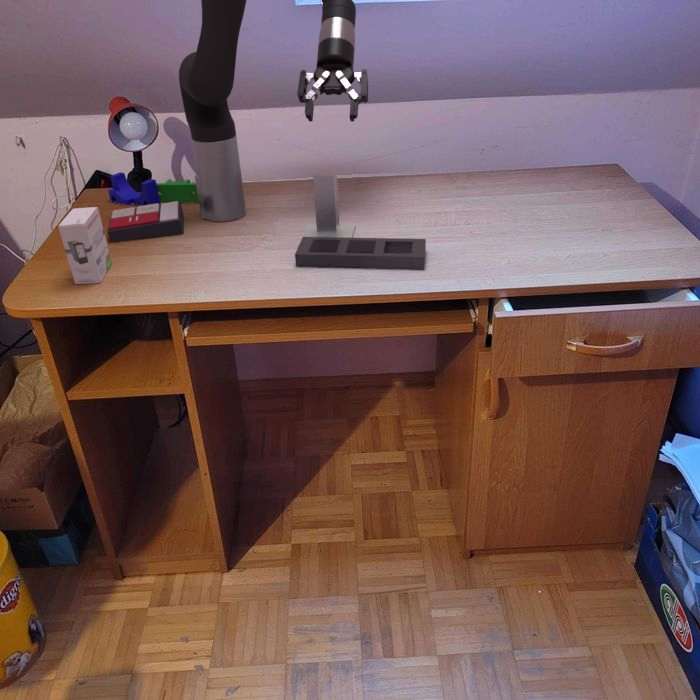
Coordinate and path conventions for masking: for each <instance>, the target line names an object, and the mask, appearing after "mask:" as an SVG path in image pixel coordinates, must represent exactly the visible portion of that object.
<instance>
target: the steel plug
mask: <svg viewBox="0 0 700 700" xmlns="http://www.w3.org/2000/svg"><path fill="white" fill-rule="evenodd" d="M312 179H313V180H312V181H313V193H314V196H313V197H314V205H315V206H314V210H315V222H316V224H315V225H317V237H338V234H339V231H340V227H339V225H340V210H339V193H338V192H339V190H338V189H339V188H338V187H339V186H338V170H337V168H316V169H315V171H314V173H313V174H312Z"/></svg>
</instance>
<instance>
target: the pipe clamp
mask: <svg viewBox="0 0 700 700" xmlns="http://www.w3.org/2000/svg"><path fill="white" fill-rule="evenodd" d="M172 180H173V179H170V178H169V179H167V181H165V182H164V183H158V182H156V185H157V189H158V194H159V199H160V202H175V201H178V202H199V199H198V194H197V188H196V182H191V179H185V180H183V181H172ZM193 193H194V194H193Z"/></svg>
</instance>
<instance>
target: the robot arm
mask: <svg viewBox="0 0 700 700" xmlns="http://www.w3.org/2000/svg"><path fill="white" fill-rule="evenodd" d="M200 2H201V4H200V5H201V27H200V32H199V33H200V34H199V38H198V43H197V47H196V50H195V51H194V52H191V53H189V54H188V55H186V56H185V58H183V60H182V61H181V63H180V65H179V69H178V70H179V71H178V83H179V89H180V94H181V98H182V99H181V100H182V104H183V105H182V106H183V109H184V110H183V111H184V115H185V119H186V122H187V126H188V128H189V131H190V136H191V142H192V147H193V154H194V161H195V166H196V171H197V172H196V173H197V174H195V176H194V181H195V182H194V183H196V188H197V194H198V199H199V203H198V204H199V210H200V211H199V212H200V217H201V219H205V220H209V221H211V222H229V221H234V220H238V219H240V218H243V217H244V216H245V215H246V213H247V209H246V208H247V207H246V200H245V191H244V184H243V177H242V169H241V162H240V161H241V160H240V154H239V146H238V137H237V131H236V123H235V120H234V119H233V116H232V114H231V112H230V108H229V104H228V99H229V96H230V95H231V93H232V91H233V88H234V83H235V82H234V81H235V74H236V73H235V71H236V62H237V61H236V60H237V53H238V52H237V51H238V45H239V44H238V43H239V38H240V37H239V36H240V30H241V27H242V23H243V19H244V14H245V11H246V4H247V0H201V1H200ZM322 2H323V7H322V6H321V9H322V11H321V22H320V23H321V24H320V30H319V34H318V44H317V45H318V46H317V55H316V56H317V57H316V69H315V71H314V72H307V71H306V70H305V69H302V70H300V73H299V78H298V84H297V85H298V86H297V92H296V95H297V98H298V101H299V103H300V104H305V106H304V115H305V118H306V119H307V120H308V122H313V121H314V109H315V106H314V104H315V103H316V102H317V101H318V100H320V99H321V98H322V97H323V96H324V95H326V96H330V95H336V96H337V95H338V96H341V95H342V94H344V95H345V96H346V97H347V99H349V100H350V103H349V104H350V106H349V121H350V122H355V119H356V120H357V118H358V116H359V105H360V104H361V103H366V104H367V102H369V76H368V70H367V69H365V68H364V69H361V71H360V72H359V71H358V72H355V71H354V64H355V63H354V62H355V61H354V60H355V50H356V16H357V10H356V9H357V8H356V4H355V2H354V1H353V0H322ZM355 80H357V83H358V84H359V85H360V92H359V93H357V92H356V91H355V89H354V88H353V86H352V85H353V83H354V82H355ZM312 81H314V82H315V83H314V84H313V85H312V86H311V88H310V90H309V91H308V92H307V90H308V86H309V85H311V82H312Z"/></svg>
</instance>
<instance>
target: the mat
mask: <svg viewBox="0 0 700 700" xmlns="http://www.w3.org/2000/svg"><path fill="white" fill-rule="evenodd" d="M339 227H340V231H339V234H338V237H344V238H354V237H353V236H354V233H355V231H356V225H355V224H339ZM303 237H317V225H316V224H308V225H307V227H306V229H305V231H304V233H303V236H302V238H303Z"/></svg>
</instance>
